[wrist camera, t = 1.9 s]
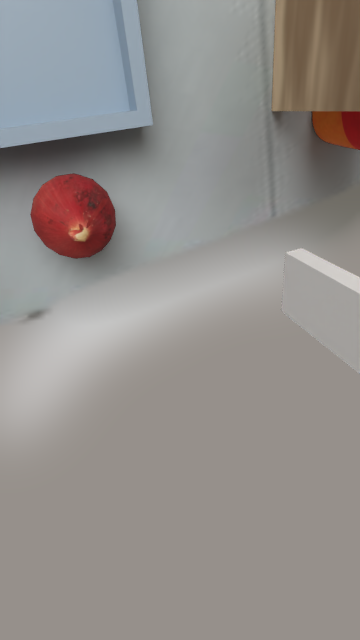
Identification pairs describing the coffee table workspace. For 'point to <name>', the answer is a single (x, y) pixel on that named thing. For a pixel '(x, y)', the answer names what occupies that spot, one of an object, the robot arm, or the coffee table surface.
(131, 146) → the coffee table surface
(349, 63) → the wooden l-shaped bracket
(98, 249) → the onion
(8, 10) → the tray
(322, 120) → the coffee cup
